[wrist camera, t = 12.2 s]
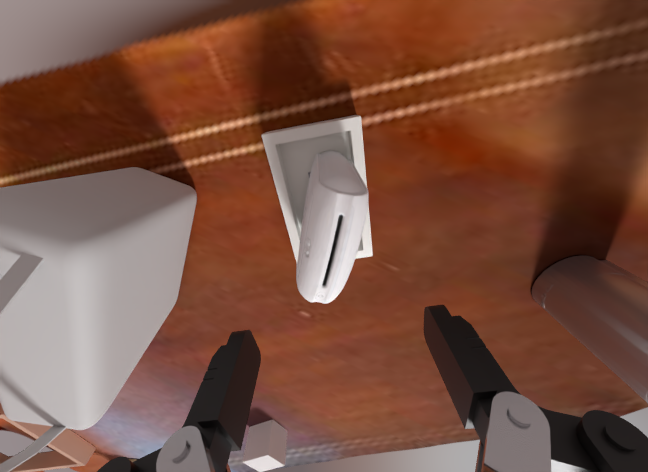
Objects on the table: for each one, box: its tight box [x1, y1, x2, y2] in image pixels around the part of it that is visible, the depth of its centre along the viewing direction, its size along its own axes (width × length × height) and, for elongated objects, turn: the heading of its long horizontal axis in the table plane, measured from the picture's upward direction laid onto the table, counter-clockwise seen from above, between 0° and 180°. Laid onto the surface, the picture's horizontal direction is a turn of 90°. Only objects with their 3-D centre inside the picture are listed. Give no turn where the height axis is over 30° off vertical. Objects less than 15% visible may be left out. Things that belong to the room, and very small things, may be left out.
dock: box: [262, 115, 373, 262], centre depth 26 cm, size 9×15×3 cm, turn 10°
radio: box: [0, 167, 197, 472], centre depth 19 cm, size 22×8×25 cm, turn 156°
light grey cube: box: [243, 420, 288, 472], centre depth 51 cm, size 6×6×6 cm
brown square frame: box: [0, 403, 96, 472], centre depth 49 cm, size 22×22×3 cm
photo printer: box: [296, 150, 368, 304], centre depth 21 cm, size 10×4×12 cm, turn 169°
